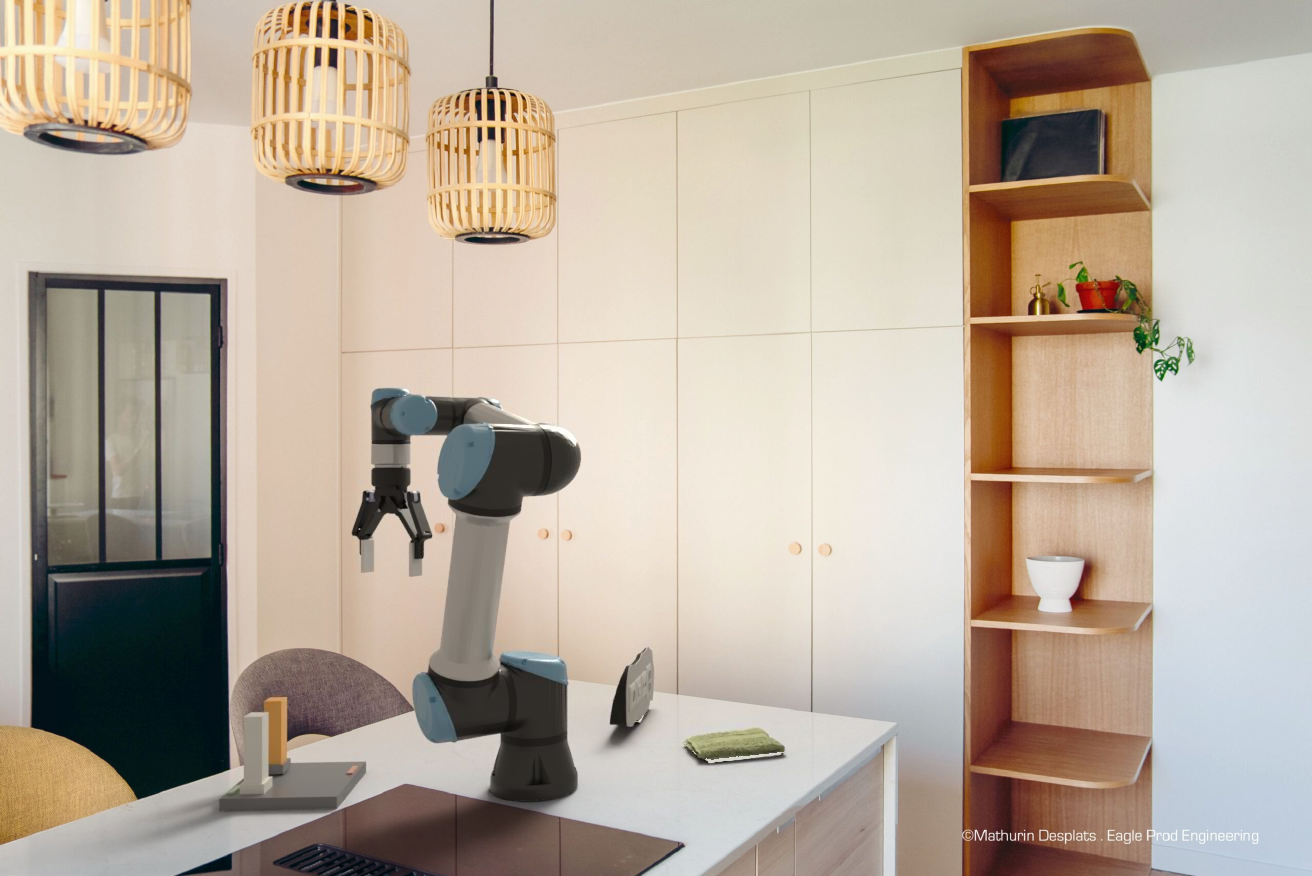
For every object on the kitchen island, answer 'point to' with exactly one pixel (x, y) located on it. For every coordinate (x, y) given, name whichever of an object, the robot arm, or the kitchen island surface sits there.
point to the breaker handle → (277, 735)
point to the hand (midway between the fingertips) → (391, 574)
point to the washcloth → (733, 744)
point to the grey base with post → (287, 778)
